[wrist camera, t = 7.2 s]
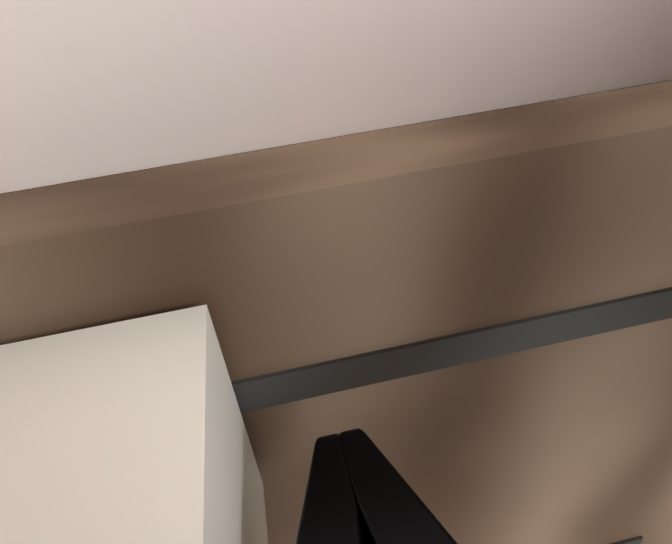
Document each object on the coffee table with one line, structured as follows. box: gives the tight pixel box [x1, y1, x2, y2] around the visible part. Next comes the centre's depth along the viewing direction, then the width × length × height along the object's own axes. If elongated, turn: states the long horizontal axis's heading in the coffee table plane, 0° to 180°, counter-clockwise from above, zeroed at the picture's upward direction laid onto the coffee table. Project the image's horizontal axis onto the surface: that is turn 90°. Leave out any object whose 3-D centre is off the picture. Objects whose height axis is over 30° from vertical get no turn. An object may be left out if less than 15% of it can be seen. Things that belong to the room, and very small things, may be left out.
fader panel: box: [0, 80, 672, 544], centre depth 15 cm, size 21×20×2 cm
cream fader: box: [0, 304, 268, 544], centre depth 8 cm, size 4×5×4 cm
